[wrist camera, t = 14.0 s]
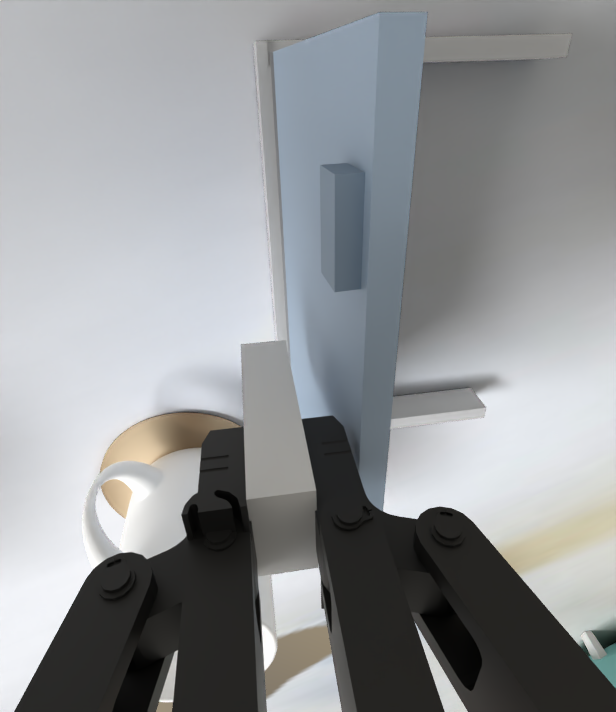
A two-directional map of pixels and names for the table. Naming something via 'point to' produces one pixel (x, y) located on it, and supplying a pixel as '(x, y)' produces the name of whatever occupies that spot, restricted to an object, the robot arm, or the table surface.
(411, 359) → the table surface
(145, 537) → the mug
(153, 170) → the table surface
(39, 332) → the table surface
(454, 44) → the bracket
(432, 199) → the table surface
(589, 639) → the alarm clock
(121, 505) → the coaster
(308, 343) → the cover
